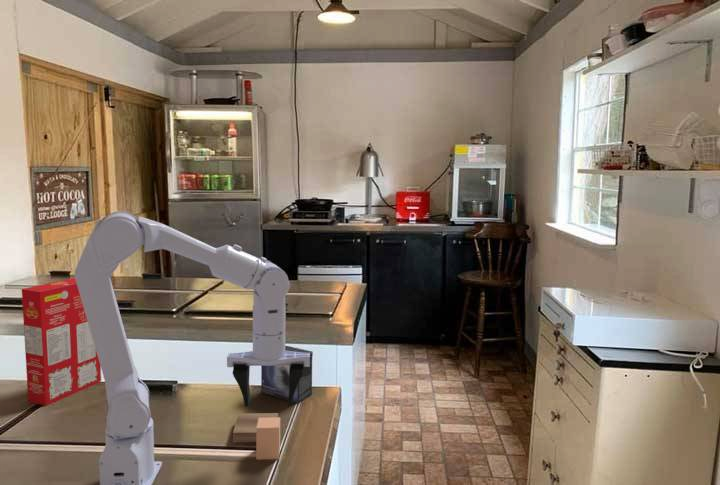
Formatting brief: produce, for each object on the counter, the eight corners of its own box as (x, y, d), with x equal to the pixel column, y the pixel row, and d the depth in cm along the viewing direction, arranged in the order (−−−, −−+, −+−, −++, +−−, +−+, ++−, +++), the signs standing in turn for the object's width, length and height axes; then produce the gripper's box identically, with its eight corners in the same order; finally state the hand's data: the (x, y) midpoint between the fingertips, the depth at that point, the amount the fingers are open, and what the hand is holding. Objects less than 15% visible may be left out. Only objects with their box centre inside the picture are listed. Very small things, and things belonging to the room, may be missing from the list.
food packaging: (84, 377, 129) (80, 276, 126) (101, 381, 128) (97, 278, 124) (28, 401, 116) (21, 289, 112) (46, 405, 114) (39, 291, 111)
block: (278, 459, 96) (279, 427, 95) (256, 459, 95) (256, 428, 95) (280, 447, 100) (280, 417, 99) (258, 448, 99) (258, 417, 98)
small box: (259, 394, 123) (259, 350, 122) (276, 384, 129) (276, 342, 127) (297, 404, 118) (297, 359, 117) (313, 394, 124) (313, 350, 122)
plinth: (275, 442, 102) (275, 432, 101) (232, 442, 101) (232, 432, 101) (278, 422, 109) (278, 413, 109) (238, 422, 109) (238, 413, 108)
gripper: (310, 324, 99) (309, 393, 101) (230, 324, 98) (231, 394, 99) (310, 336, 92) (309, 410, 94) (224, 336, 91) (225, 411, 93)
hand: (268, 403), depth 96 cm, fingers open, 7 cm apart
